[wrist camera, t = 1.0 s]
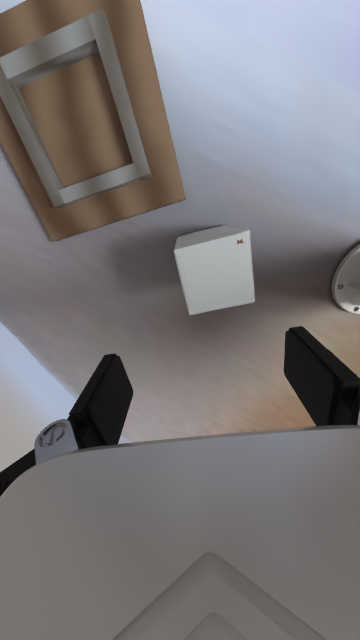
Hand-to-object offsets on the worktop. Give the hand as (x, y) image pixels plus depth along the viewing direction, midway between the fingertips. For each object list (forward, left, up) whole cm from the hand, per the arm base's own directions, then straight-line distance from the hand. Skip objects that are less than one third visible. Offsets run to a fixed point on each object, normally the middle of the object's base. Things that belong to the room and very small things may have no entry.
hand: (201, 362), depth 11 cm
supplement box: (-3, -2, -23) cm, 23 cm away
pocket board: (+8, -20, -23) cm, 31 cm away
